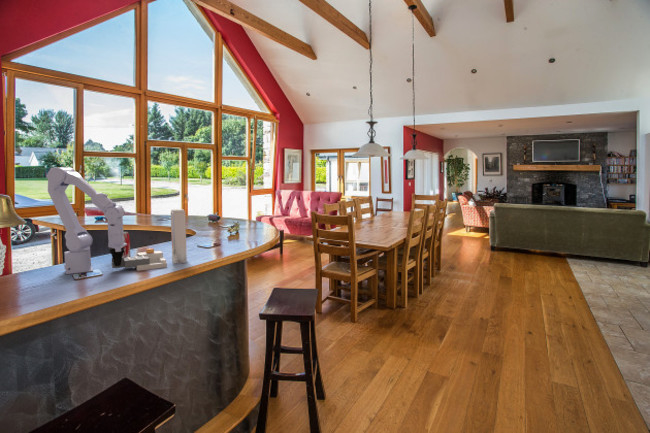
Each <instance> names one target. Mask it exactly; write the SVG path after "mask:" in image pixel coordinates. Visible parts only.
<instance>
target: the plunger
mask: <svg viewBox="0 0 650 433" xmlns="http://www.w3.org/2000/svg"><path fill="white" fill-rule="evenodd" d="M154 251H155V248H146V249H145V252H146V253H147V254H150V253H154Z"/></svg>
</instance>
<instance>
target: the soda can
mask: <svg viewBox="0 0 650 433" xmlns="http://www.w3.org/2000/svg"><path fill="white" fill-rule="evenodd" d="M123 234H124V243H127V245H125V246H123V248H124V250H125V251H124V253H123V256H122V257H124V258H127V257H131V241H130V234H129V232H128V231H123Z"/></svg>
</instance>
